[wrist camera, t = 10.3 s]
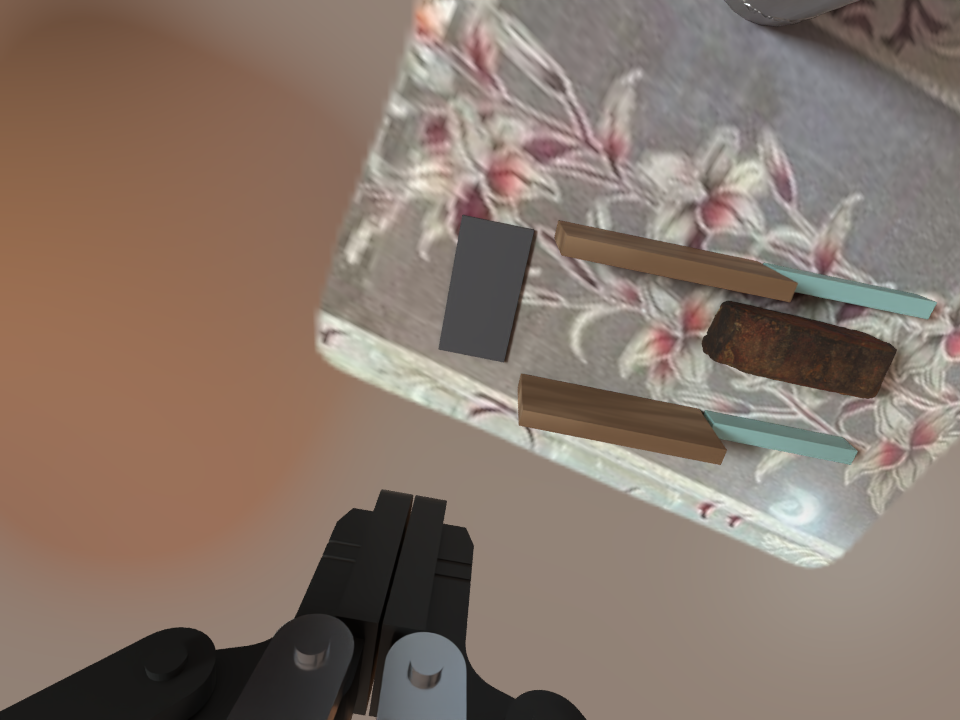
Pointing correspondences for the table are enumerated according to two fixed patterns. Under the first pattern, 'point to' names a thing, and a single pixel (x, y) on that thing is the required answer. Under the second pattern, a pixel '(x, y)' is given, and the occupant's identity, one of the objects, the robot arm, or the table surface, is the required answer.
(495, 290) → the pad
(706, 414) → the bay
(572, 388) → the trench
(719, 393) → the table surface
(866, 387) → the brick
